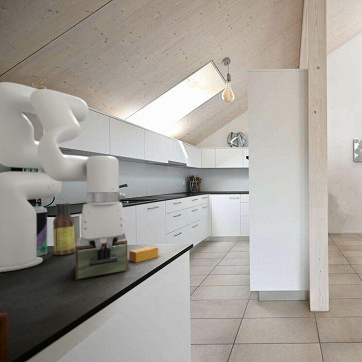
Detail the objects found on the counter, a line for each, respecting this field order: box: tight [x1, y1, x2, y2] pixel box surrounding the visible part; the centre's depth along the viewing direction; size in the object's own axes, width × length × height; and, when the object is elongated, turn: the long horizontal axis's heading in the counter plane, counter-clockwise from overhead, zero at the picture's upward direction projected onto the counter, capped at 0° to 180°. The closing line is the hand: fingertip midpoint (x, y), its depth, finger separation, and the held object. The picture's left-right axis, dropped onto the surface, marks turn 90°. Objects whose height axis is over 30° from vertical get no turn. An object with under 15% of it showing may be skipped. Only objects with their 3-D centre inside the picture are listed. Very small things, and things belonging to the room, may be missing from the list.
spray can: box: [32, 202, 48, 257], centre depth 99 cm, size 6×6×20 cm
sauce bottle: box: [52, 202, 76, 256], centre depth 100 cm, size 7×6×20 cm
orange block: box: [128, 245, 159, 263], centre depth 94 cm, size 8×4×4 cm, turn 148°
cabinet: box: [75, 236, 128, 280], centre depth 84 cm, size 15×13×10 cm
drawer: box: [77, 243, 127, 280], centre depth 79 cm, size 18×11×8 cm, turn 38°
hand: (103, 261), depth 75 cm, fingers closed
